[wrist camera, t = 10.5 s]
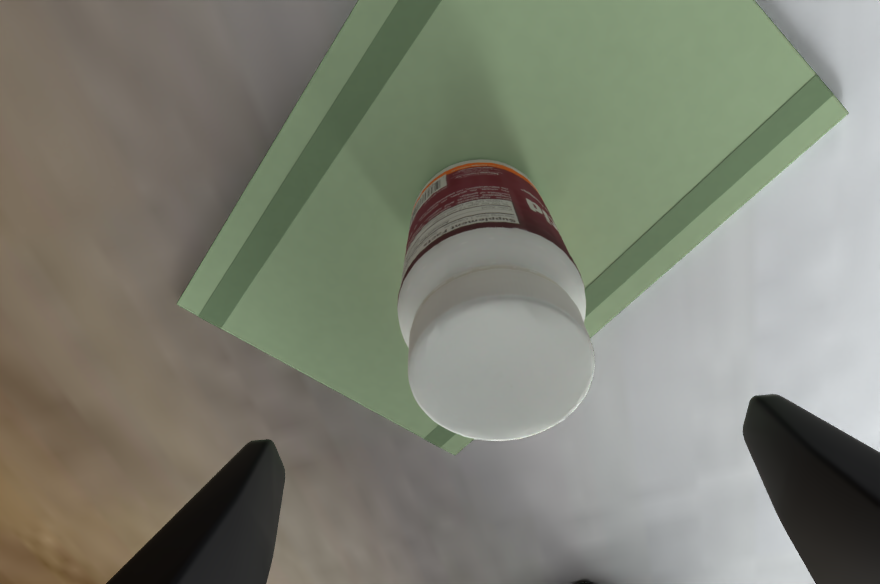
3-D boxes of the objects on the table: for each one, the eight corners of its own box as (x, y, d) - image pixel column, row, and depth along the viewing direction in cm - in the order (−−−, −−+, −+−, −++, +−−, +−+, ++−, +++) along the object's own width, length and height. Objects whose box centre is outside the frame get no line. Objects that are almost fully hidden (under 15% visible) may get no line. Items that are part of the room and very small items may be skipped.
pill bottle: (556, 260, 19) (629, 429, 11) (434, 293, 19) (430, 472, 12) (529, 135, 16) (597, 251, 9) (391, 179, 17) (354, 316, 10)
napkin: (843, 111, 16) (850, 113, 16) (455, 451, 24) (455, 456, 24) (521, -271, 12) (522, -276, 12) (179, 300, 20) (175, 305, 20)
